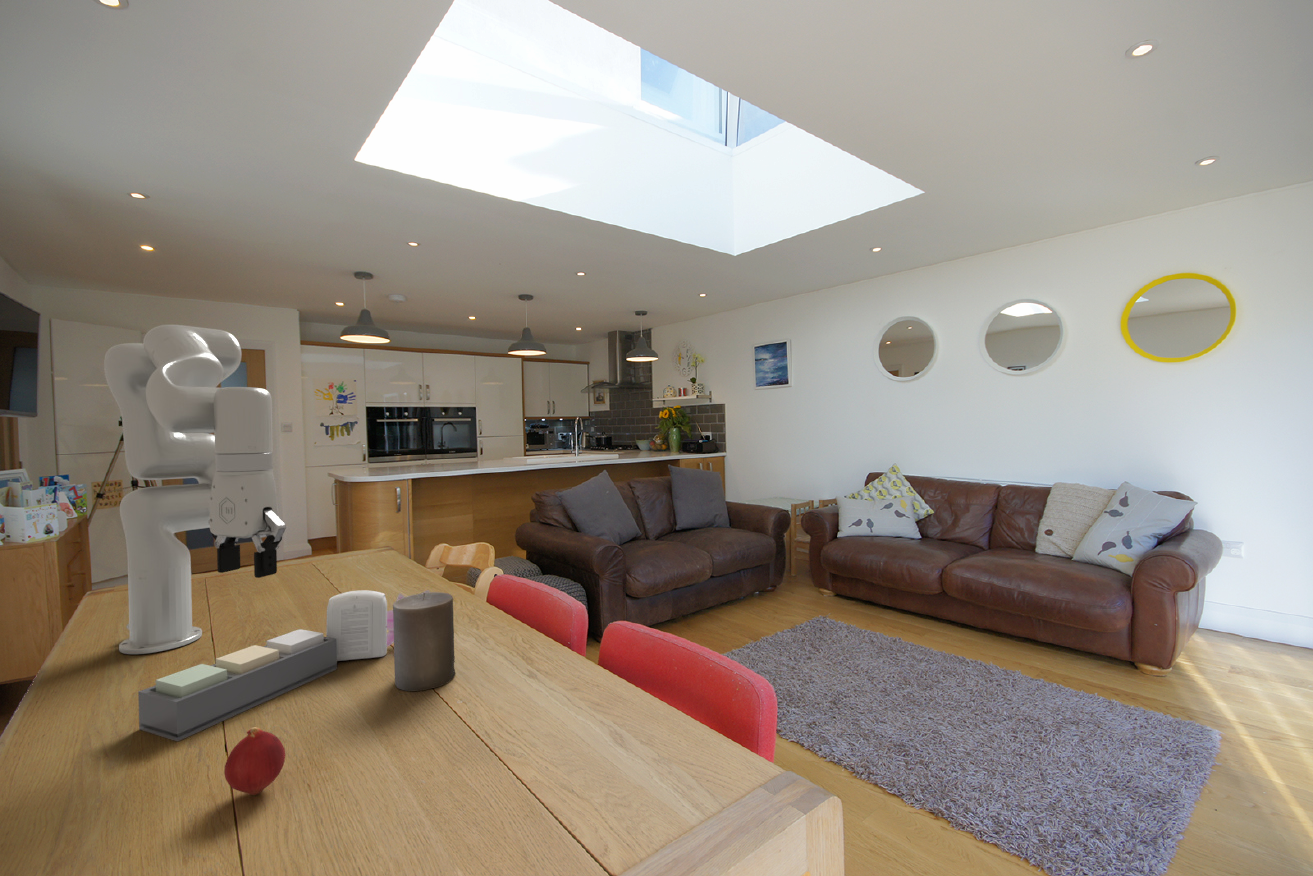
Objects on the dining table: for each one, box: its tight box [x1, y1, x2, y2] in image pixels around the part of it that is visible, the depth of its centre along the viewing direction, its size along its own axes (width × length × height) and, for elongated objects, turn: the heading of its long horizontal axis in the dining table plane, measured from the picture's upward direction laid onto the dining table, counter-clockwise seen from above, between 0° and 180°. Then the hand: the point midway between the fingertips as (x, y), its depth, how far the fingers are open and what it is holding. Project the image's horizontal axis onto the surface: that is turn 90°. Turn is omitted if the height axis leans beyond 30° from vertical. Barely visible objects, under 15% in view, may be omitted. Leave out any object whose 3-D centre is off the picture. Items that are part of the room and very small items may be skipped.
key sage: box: [155, 663, 227, 698], centre depth 84 cm, size 6×6×4 cm
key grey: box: [266, 628, 325, 655], centre depth 99 cm, size 6×6×4 cm
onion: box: [223, 726, 286, 796], centre depth 67 cm, size 6×6×8 cm
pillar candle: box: [392, 591, 456, 692], centre depth 97 cm, size 10×10×15 cm
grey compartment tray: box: [137, 636, 338, 742], centre depth 91 cm, size 9×25×6 cm, turn 159°
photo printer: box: [325, 589, 388, 662], centre depth 107 cm, size 10×4×12 cm, turn 106°
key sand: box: [215, 644, 279, 675], centre depth 91 cm, size 6×6×4 cm
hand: (247, 572), depth 91 cm, fingers open, 8 cm apart
